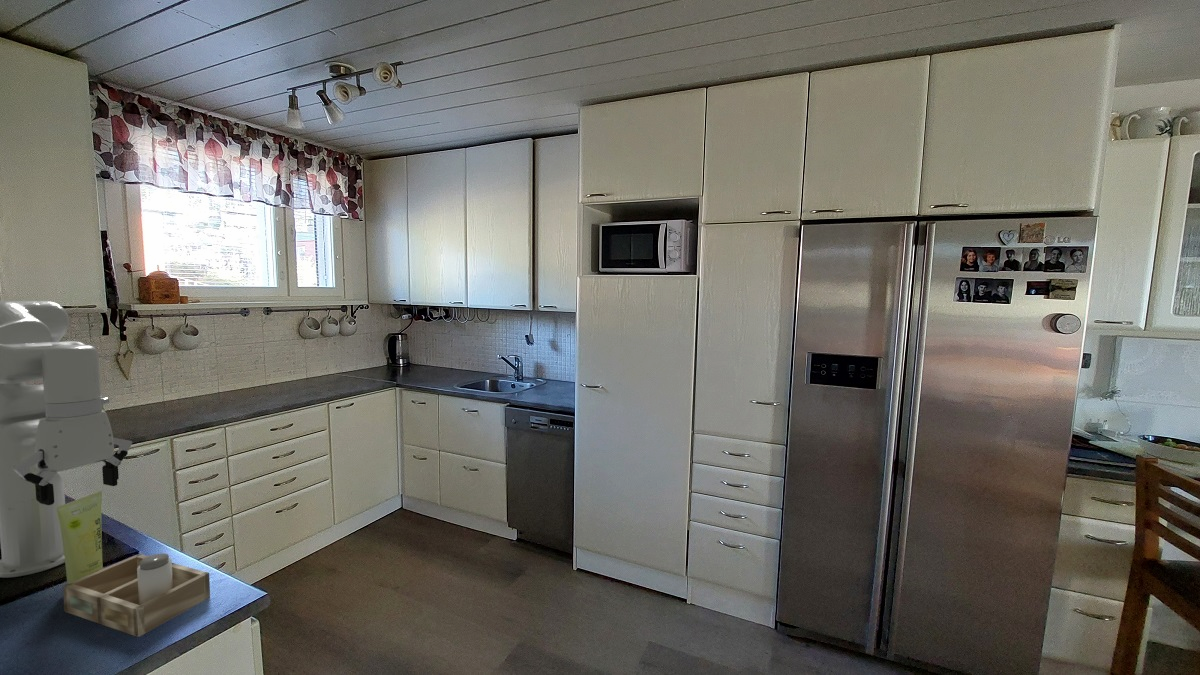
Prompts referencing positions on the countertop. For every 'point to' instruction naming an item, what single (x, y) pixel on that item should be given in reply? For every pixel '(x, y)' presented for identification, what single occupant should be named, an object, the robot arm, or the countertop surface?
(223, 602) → the countertop surface
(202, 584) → the box
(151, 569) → the jar
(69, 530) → the tube
